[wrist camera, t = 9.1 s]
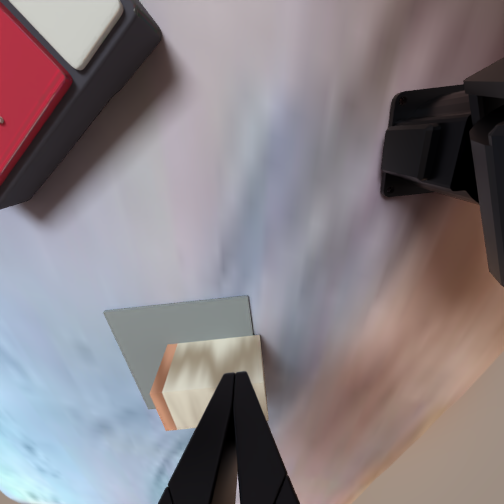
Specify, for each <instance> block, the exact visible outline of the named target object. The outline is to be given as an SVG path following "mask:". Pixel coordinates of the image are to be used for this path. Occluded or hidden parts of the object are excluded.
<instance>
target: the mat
mask: <svg viewBox="0 0 504 504" xmlns="http://www.w3.org/2000/svg"><path fill="white" fill-rule="evenodd" d="M103 313H104V315H105V317H106V320H107V322H108V324H109V326H110V328H111V330H112V332H113V335H114V337H115V339H116V341H117V343H118V345H119V347H120V349H121V352H122V354H123V356H124V358H125V360H126V362H127V364H128V367H129V369H130V371H131V373H132V375H133V377H134V379H135V382H136V384H137V386H138V388H139V390H140V392H141V394H142V397H143V399H144V401H145V403H146V405H147V407H148V409H156V407H155V405H154V403H153V401H152V398H151V396H150V391H151V388H152V386H153V383H154V380H155V377H156V375H157V372H158V369H159V366H160V364H161V361H162V358H163V355H164V353H165V350H166V347H167V345H168V344H177V343H187V342H196V341H206V340H215V339H225V338H234V337H244V336H253V330H252V322H251V315H250V308H249V300H248V295H247V296H238V297H228V298H219V299H209V300H200V301H190V302H181V303H171V304H162V305H152V306H143V307H133V308H124V309H114V310H105V311H104V312H103Z"/></svg>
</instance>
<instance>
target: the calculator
mask: <svg viewBox="0 0 504 504" xmlns="http://www.w3.org/2000/svg"><path fill="white" fill-rule="evenodd" d="M161 37H162V34H161V30H160V28H159V26H158V25H157V24H156V22H155V21H154V20H153V18H152V17H151V16H150V15H149V13H148V12H147V11H146V9H145V8H144V7H143V5H142V4H141V3H140V2H139V0H0V209H3V208H6V207H9V206H13V205H16V204H19V203H22V202H25V201H28V200H29V199H30V198H31V197H32V196H33V195H34V194H35V192H36V191H37V190H38V189H39V188H40V186H41V185H42V184H43V183H44V182H45V180H46V179H47V178H48V177H49V175H50V174H51V173H52V172H53V171H54V169H55V168H56V167H57V166H58V165H59V163H60V162H61V161H62V160H63V158H64V157H65V156H66V155H67V153H68V152H69V151H70V150H71V148H72V147H73V146H74V144H75V143H76V142H77V141H78V139H79V138H80V137H81V135H82V134H83V133H84V132H85V130H86V129H87V128H88V126H89V125H90V124H91V123H92V121H93V120H94V119H95V118H96V116H97V115H98V114H99V112H100V111H101V110H102V109H103V107H104V106H105V105H106V103H107V102H108V101H109V100H110V98H111V97H112V96H113V95H114V94H116V93H117V92H118V91H119V90H120V89H121V88H122V87H123V86H124V85H125V83H126V82H127V81H128V80H129V79H130V77H131V76H132V75H133V74H134V73H135V71H136V70H137V69H138V68H139V67H140V65H141V64H142V63H143V62H144V60H145V59H146V58H147V57H148V56H149V54H150V53H151V52H152V51H153V50H154V48H155V47H156V46H157V45H158V43H159V42H160V40H161Z"/></svg>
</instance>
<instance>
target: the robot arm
mask: <svg viewBox="0 0 504 504" xmlns="http://www.w3.org/2000/svg"><path fill="white" fill-rule="evenodd" d="M463 82H464V84H463V85H455V86H446V87H438V88H429V89H421V90H413V91H404V92H401V93H398V94H396V95H395V96H394V98H393V99H392V103H391V111H390V119H389V127H388V129H387V130H386V133H385V142H384V150H383V158H382V167H381V169H382V170H383V176H382V184H381V193H382V195H384V196H387V197H394V196H403V195H412V194H421V193H430V192H437V193H441V194H444V195H448V196H451V197H455V198H458V199H462V200H465V201H468V202H472V203H475V204H479V205H480V212H481V219H482V226H483V233H484V240H485V247H486V254H487V260H488V266H489V272H490V273H491V274H492V275H493V276H494V277H495V279H496V280H497V281H498V282H499V283H500V284H501V285H502V286H503V287H504V58H502V59H500V60H498V61H497V62H495V63H493V64H491V65H489V66H488V67H486V68H484V69H482V70H481V71H479V72H477V73H475V74H473V75H472V76H470V77H468V78H466V79H465V80H464V81H463ZM401 97H402V98H403V104H402V105H400V104H399V100H400V98H401ZM389 187H391V190H390V191H389V192H387V189H388V188H389ZM237 473H238V481H239V493H240V504H300V502H299V500H298V497H297V495H296V493H295V490H294V488H293V485H292V483H291V480H290V478H289V476H288V475H287V471H286V468H285V466H284V463H283V461H282V458H281V456H280V453H279V451H278V448H277V446H276V443H275V441H274V438H273V436H272V433H271V431H270V428H269V426H268V423H267V421H266V418H265V416H264V413H263V411H262V408H261V406H260V403H259V401H258V398H257V396H256V393H255V391H254V388H253V386H252V383H251V381H250V378H249V376H248V373H247V372H246V371H240V372H236V374H235V373H234V372H230V373H224V374H223V376H222V378H221V380H220V382H219V384H218V386H217V388H216V390H215V392H214V394H213V396H212V398H211V399H210V401H209V403H208V405H207V407H206V409H205V411H204V413H203V415H202V417H201V419H200V421H199V423H198V425H197V427H196V429H195V431H194V433H193V435H192V437H191V439H190V441H189V443H188V445H187V447H186V449H185V451H184V453H183V455H182V457H181V459H180V461H179V463H178V465H177V467H176V469H175V471H174V473H173V475H172V477H171V479H170V481H169V483H168V487H166V488H165V490H164V492H163V494H162V496H161V498H160V500H159V502H158V504H235V500H236V486H237Z"/></svg>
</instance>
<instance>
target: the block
mask: <svg viewBox="0 0 504 504" xmlns="http://www.w3.org/2000/svg"><path fill="white" fill-rule="evenodd" d="M240 371H246V372H247V373H248V376H249V378H250V381H251V383H252V386H253V388H254V391H255V393H256V396H257V398H258V401H259V403H260V406H261V408H262V411H263V413H264V416H265V418H266V421H269V420H268V409H267V397H266V386H265V375H264V365H263V358H262V350H261V342H260V335H253V336H244V337H234V338H225V339H215V340H206V341H196V342H187V343H177V344H168V345H167V347H166V350H165V353H164V355H163V358H162V361H161V364H160V366H159V369H158V372H157V375H156V377H155V380H154V383H153V386H152V388H151V391H150V396H151V398H152V401H153V403H154V405H155V407H156V410H157V412H158V414H159V416H160V418H161V421H162V423H163V425H164V427H165V430H166V431H169V430H179V429H189V428H196V427H197V425H198V423H199V421H200V419H201V417H202V415H203V413H204V411H205V409H206V407H207V405H208V403H209V401H210V399H211V398H212V396H213V394H214V392H215V390H216V388H217V386H218V384H219V382H220V380H221V378H222V376H223V374H224V373H230V372H234V373H235V374H236V372H240Z"/></svg>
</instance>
